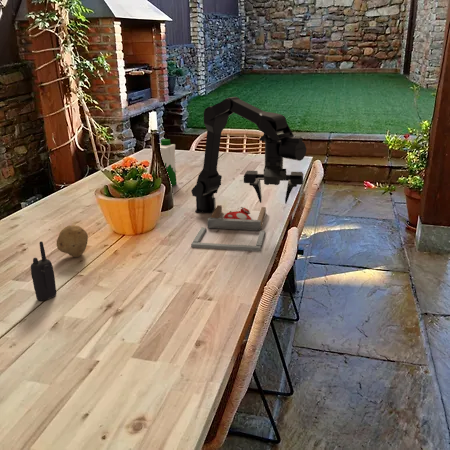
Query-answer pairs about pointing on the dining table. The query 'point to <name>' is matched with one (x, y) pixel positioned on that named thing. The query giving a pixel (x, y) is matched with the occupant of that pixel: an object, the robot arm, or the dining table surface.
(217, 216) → the stall
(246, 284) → the dining table surface
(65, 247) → the potato
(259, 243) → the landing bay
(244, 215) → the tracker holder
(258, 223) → the bar
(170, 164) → the milk carton
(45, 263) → the two-way radio
